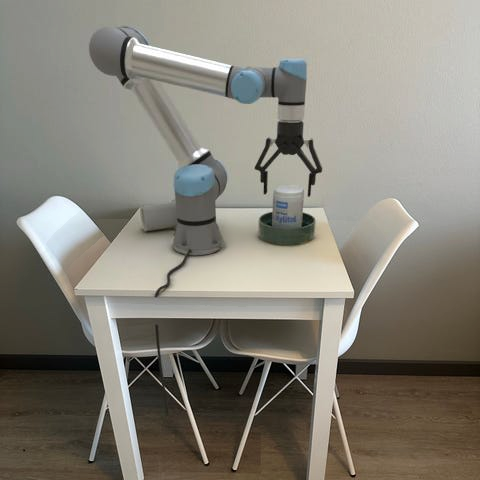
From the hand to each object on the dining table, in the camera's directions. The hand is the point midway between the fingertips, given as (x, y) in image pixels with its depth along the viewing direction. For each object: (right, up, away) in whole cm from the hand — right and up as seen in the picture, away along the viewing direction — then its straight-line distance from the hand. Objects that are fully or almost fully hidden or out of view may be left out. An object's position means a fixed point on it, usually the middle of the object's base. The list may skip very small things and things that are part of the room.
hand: (287, 194), depth 145 cm
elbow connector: (-39, -6, +17) cm, 44 cm away
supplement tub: (+1, -11, +7) cm, 13 cm away
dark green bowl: (0, -12, +7) cm, 13 cm away
